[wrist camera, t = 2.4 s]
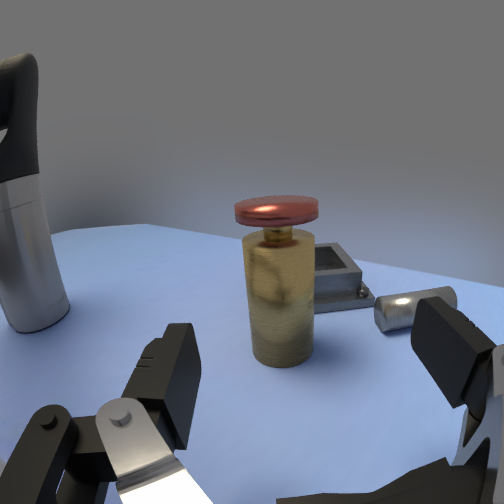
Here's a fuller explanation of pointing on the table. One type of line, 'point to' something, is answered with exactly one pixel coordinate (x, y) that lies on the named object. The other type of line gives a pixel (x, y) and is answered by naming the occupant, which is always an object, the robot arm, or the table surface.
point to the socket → (338, 281)
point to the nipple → (406, 307)
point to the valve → (279, 277)
